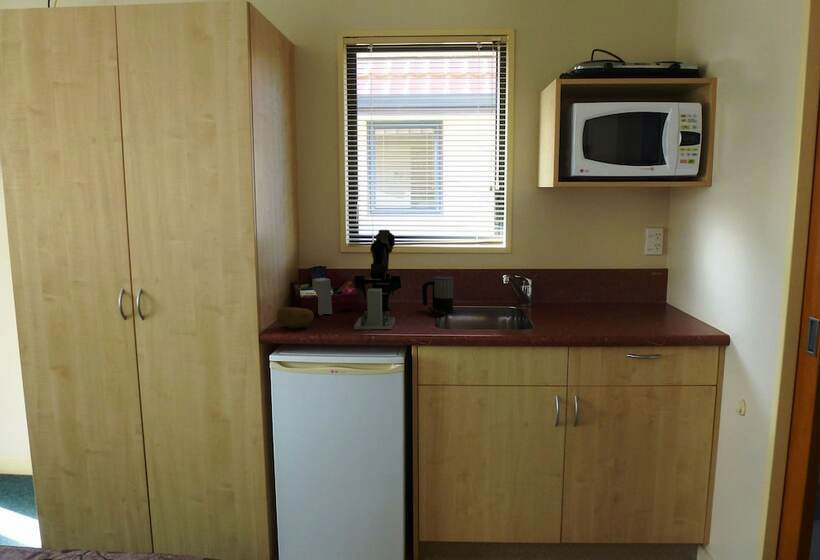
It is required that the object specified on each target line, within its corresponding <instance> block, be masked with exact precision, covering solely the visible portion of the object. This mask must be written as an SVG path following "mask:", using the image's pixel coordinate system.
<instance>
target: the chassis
mask: <svg viewBox="0 0 820 560" xmlns="http://www.w3.org/2000/svg"><path fill="white" fill-rule="evenodd" d="M384 315H385V316H384ZM384 315H382V322H381V323H368V310H364V311H363V316H362V315H361V316H360V317H359V318H358V320H357V321H356V322H355V324H354V325H353V330H372V329H391V330H392V329H393V327H394V324H395V321H396V318H395V317H393V316H392V317H390V311H389V310H385V313H384ZM392 326H393V327H392Z"/></svg>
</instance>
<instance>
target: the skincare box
mask: <svg viewBox="0 0 820 560" xmlns="http://www.w3.org/2000/svg"><path fill="white" fill-rule="evenodd" d="M311 283H312V291H313V290H314V291H315V292H316V294H317V297H318V314H319V315H318V314H317V315H318V316H324V315H323V314H330V315H333V305H332V304H333V302H332V301H333V300H332V289H331V287H332V285H331V279H329V278H326V277H319V278H312V282H311Z"/></svg>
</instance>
